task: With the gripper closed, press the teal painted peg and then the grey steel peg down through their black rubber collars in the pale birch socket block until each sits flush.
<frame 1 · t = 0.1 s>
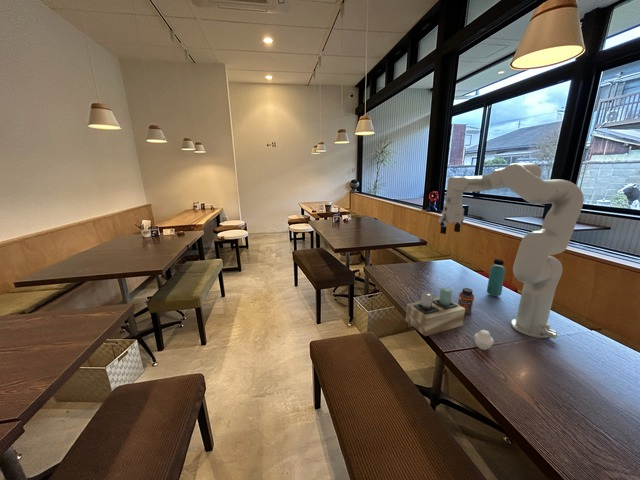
hand: (449, 232, 139), 31 cm above the table, fingers open, 9 cm apart
supplement bottle: (464, 312, 120), on the table
white rounded ridged piece: (482, 347, 96), on the table
teal peg: (445, 298, 110), point 11 cm above the table, slide at 0.0 cm
beverage bottle: (493, 296, 134), on the table
steel peg: (426, 303, 107), point 11 cm above the table, slide at 0.0 cm
socket block: (433, 323, 111), on the table
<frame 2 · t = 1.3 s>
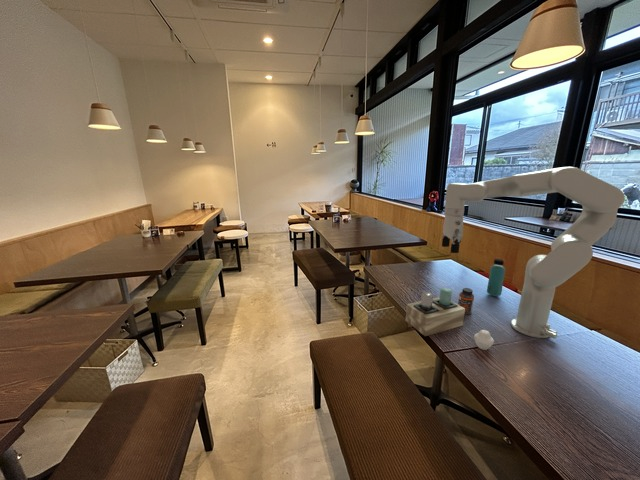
hand: (449, 249, 117), 29 cm above the table, fingers open, 9 cm apart
nothing on the table moved.
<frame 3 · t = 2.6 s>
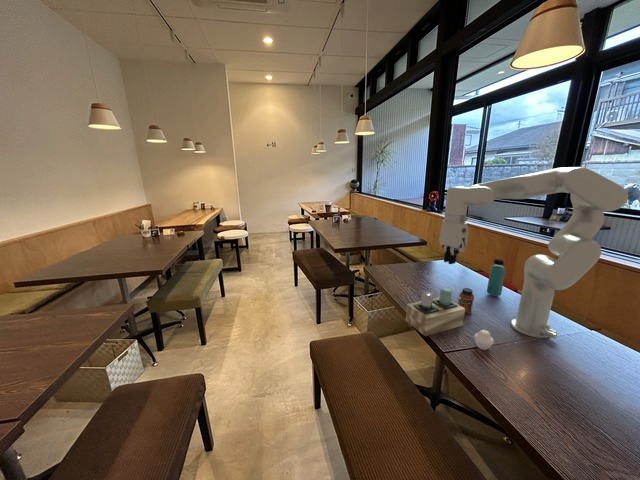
hand: (449, 262, 106), 27 cm above the table, fingers closed
nothing on the table moved.
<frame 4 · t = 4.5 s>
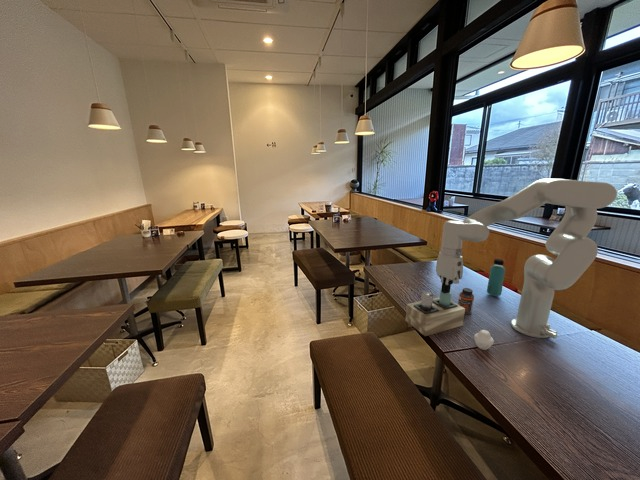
hand: (445, 292, 110), 14 cm above the table, fingers closed
teal peg: (444, 300, 111), point 10 cm above the table, slide at 1.0 cm, touching gripper
everything else where it was.
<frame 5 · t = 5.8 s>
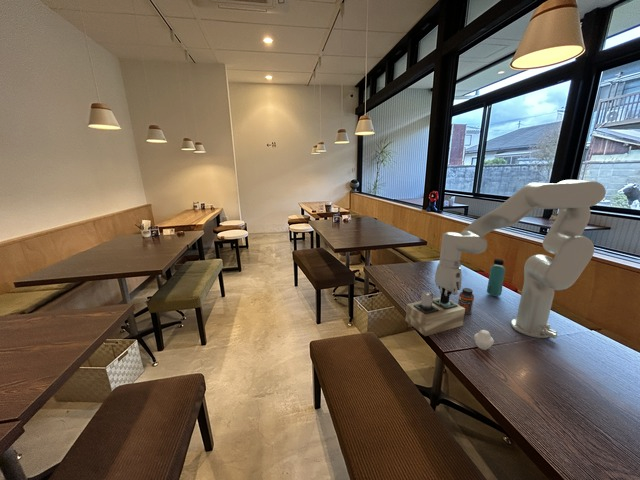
hand: (444, 302, 111), 9 cm above the table, fingers closed
teal peg: (443, 310, 112), point 5 cm above the table, slide at 5.8 cm, touching gripper
everything else where it was.
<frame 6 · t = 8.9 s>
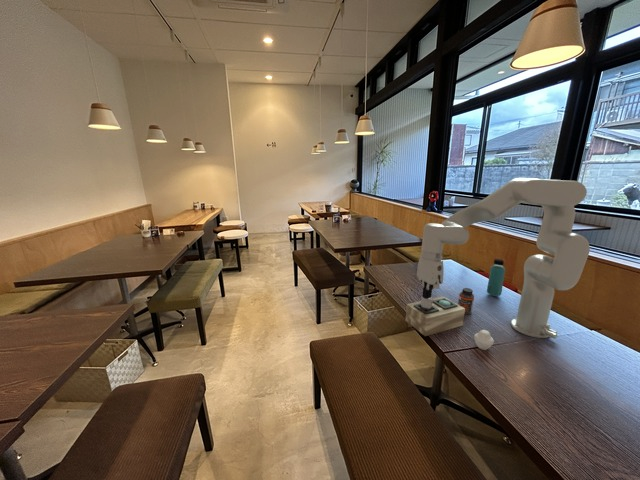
hand: (426, 297, 106), 13 cm above the table, fingers closed
teal peg: (443, 310, 112), point 5 cm above the table, slide at 5.8 cm
steel peg: (426, 305, 107), point 9 cm above the table, slide at 1.3 cm, touching gripper
everything else where it was.
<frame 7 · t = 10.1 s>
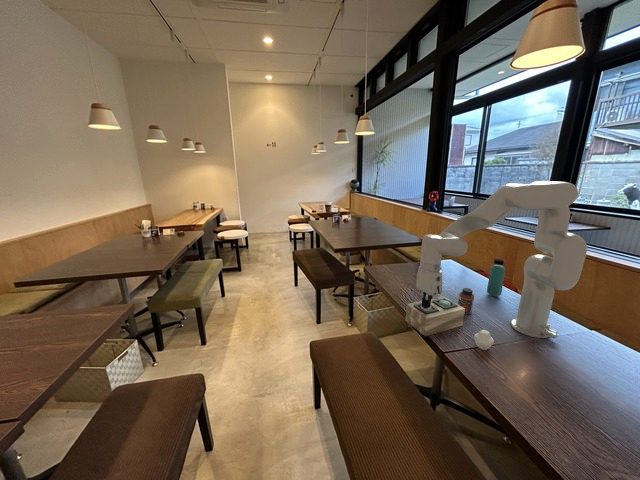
hand: (425, 306, 107), 9 cm above the table, fingers closed
steel peg: (425, 315, 108), point 5 cm above the table, slide at 5.8 cm, touching gripper
everything else where it was.
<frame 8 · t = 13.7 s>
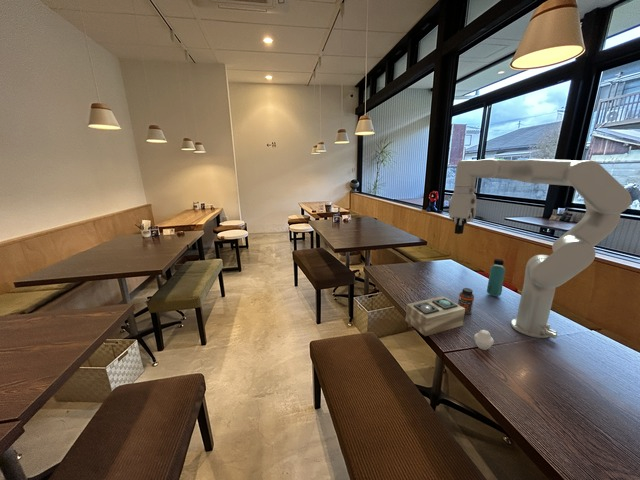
hand: (458, 233, 112), 37 cm above the table, fingers closed
steel peg: (425, 315, 108), point 5 cm above the table, slide at 5.8 cm
everything else where it was.
at the end: teal peg slide at 5.8 cm; steel peg slide at 5.8 cm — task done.
